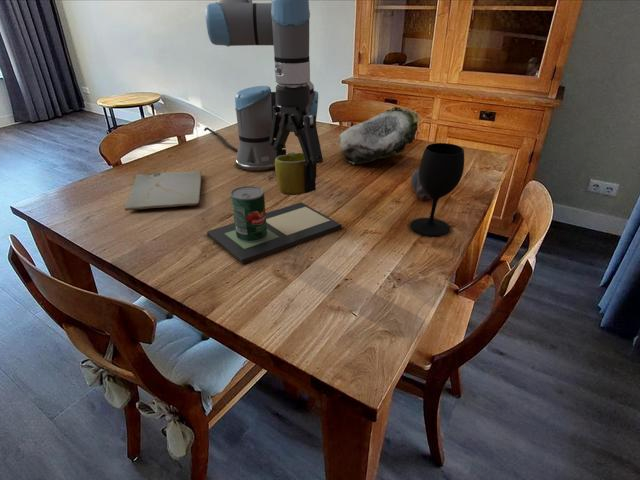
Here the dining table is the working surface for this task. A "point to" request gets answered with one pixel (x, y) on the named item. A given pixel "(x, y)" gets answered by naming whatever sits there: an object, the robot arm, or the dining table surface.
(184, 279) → the dining table surface
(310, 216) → the black board
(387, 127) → the stone basin
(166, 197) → the decorative slab
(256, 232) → the canned tomato
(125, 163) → the dining table surface
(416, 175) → the perforated stone tool
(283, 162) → the mug
